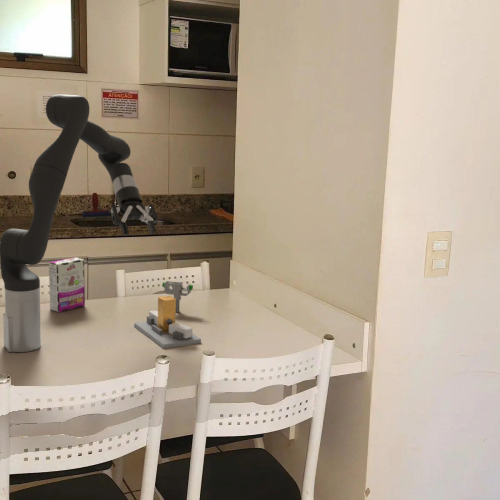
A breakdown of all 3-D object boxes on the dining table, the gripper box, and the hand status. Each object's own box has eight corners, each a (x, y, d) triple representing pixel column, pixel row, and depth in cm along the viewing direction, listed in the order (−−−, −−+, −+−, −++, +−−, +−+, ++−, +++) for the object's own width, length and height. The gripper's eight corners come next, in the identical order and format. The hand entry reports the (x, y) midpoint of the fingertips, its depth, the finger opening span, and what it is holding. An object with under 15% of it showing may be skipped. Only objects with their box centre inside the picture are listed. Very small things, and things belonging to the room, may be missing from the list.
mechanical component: (190, 314, 226) (191, 285, 224) (161, 311, 228) (161, 282, 226) (192, 312, 229) (193, 283, 227) (163, 309, 231) (164, 280, 229)
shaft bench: (163, 348, 193) (164, 333, 192) (134, 326, 211) (134, 312, 210) (200, 342, 199) (201, 328, 198) (169, 321, 217) (169, 308, 216)
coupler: (163, 332, 202) (164, 300, 200) (157, 328, 206) (157, 296, 204) (175, 331, 204) (176, 299, 202) (169, 326, 208) (169, 295, 206)
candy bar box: (75, 303, 233) (75, 256, 229) (85, 306, 230) (85, 259, 226) (48, 309, 224) (48, 261, 220) (58, 313, 221) (57, 264, 218)
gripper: (108, 185, 211) (121, 227, 204) (150, 184, 218) (164, 225, 211) (102, 200, 216) (115, 241, 209) (144, 199, 224) (157, 239, 216)
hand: (140, 233), depth 210 cm, fingers open, 8 cm apart
